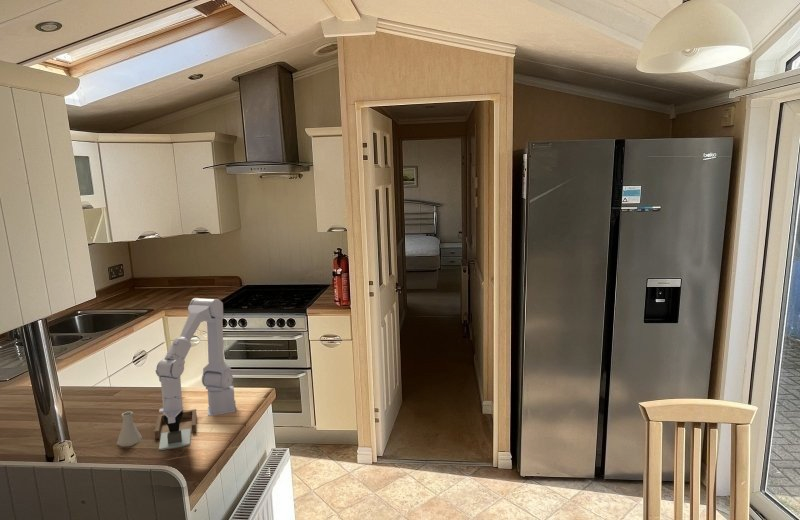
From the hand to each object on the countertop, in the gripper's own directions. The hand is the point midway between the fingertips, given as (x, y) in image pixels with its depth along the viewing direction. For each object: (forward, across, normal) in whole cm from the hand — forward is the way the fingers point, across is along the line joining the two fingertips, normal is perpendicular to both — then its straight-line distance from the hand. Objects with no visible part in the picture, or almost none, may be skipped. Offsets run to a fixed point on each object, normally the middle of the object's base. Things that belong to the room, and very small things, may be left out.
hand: (174, 434), depth 162 cm
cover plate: (+2, 0, 0) cm, 2 cm away
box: (+2, -9, 0) cm, 10 cm away
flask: (+3, -5, -14) cm, 15 cm away
